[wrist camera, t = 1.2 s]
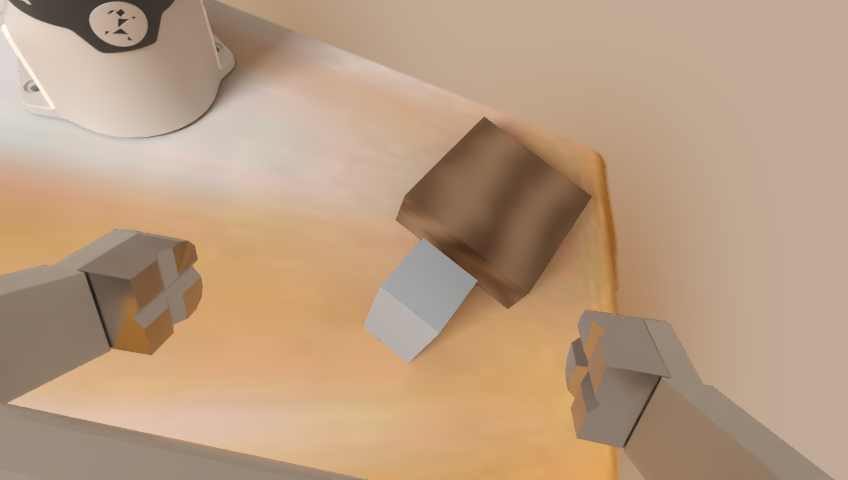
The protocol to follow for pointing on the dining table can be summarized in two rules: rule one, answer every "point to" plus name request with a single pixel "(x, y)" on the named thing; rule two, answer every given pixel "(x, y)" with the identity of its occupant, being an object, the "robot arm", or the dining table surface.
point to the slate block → (418, 300)
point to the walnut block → (494, 211)
